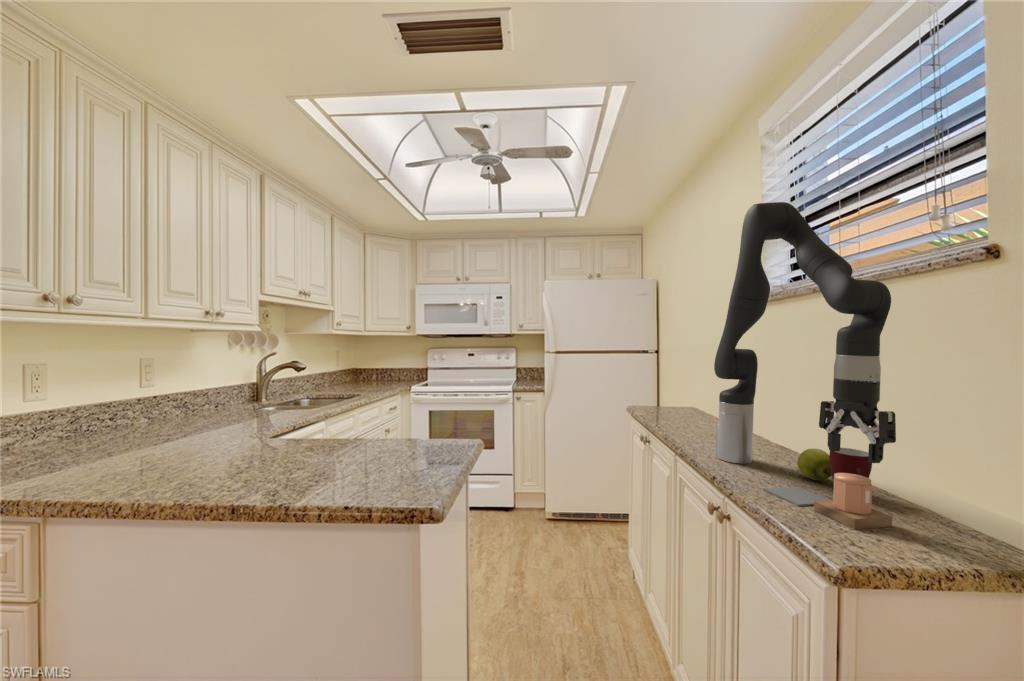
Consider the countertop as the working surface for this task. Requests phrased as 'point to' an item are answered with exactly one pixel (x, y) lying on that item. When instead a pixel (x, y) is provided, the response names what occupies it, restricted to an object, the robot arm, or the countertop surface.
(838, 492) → the cap
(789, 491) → the mat
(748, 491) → the countertop surface
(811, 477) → the apple
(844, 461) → the mug
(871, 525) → the post block
